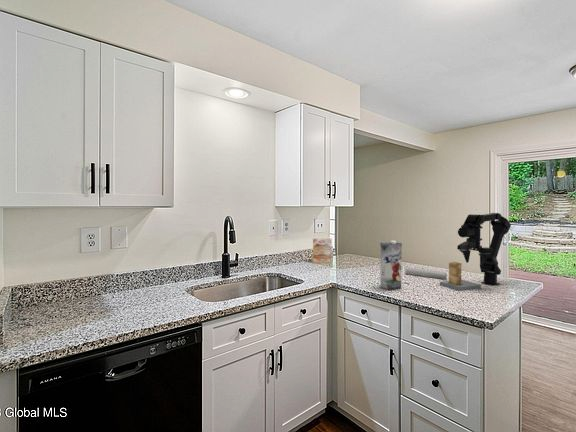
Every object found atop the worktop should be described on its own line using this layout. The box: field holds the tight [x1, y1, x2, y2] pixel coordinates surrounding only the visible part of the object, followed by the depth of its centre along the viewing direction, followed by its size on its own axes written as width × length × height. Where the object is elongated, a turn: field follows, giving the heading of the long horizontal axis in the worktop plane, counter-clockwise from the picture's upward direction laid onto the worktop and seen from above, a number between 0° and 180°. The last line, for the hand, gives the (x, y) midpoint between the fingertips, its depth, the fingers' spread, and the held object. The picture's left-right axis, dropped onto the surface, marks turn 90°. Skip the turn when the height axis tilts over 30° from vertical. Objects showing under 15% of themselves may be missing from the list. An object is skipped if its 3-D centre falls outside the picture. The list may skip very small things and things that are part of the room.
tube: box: [404, 266, 448, 280], centre depth 200 cm, size 5×5×25 cm
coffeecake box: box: [312, 237, 333, 264], centre depth 254 cm, size 15×7×20 cm, turn 81°
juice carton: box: [379, 240, 403, 291], centre depth 173 cm, size 9×10×27 cm
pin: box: [448, 261, 463, 286], centre depth 173 cm, size 4×4×14 cm
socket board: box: [439, 279, 482, 292], centre depth 175 cm, size 16×13×2 cm
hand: (474, 263), depth 174 cm, fingers open, 9 cm apart
